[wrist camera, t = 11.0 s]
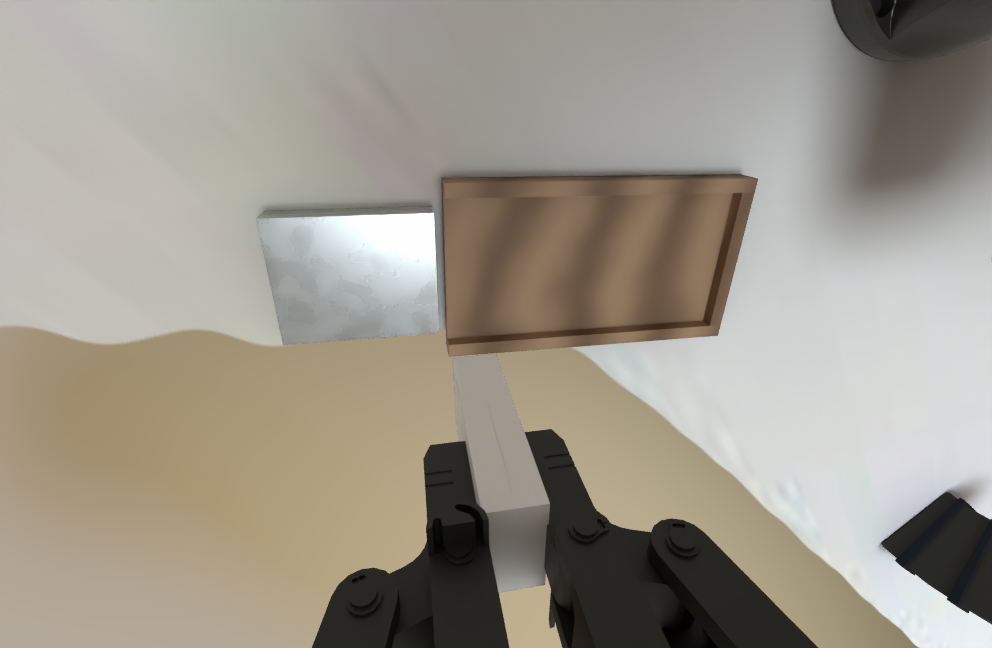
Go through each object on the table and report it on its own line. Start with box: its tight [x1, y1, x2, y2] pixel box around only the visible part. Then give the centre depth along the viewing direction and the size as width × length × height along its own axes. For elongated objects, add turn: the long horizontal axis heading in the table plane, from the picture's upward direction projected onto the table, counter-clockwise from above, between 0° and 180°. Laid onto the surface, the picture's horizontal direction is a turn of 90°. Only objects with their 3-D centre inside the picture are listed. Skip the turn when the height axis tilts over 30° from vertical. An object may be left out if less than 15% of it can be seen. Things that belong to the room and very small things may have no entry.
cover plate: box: [257, 206, 439, 345], centre depth 34 cm, size 11×9×2 cm
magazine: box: [882, 493, 992, 624], centre depth 59 cm, size 4×13×15 cm, turn 142°
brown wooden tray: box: [442, 174, 758, 356], centre depth 37 cm, size 23×13×2 cm, turn 89°
